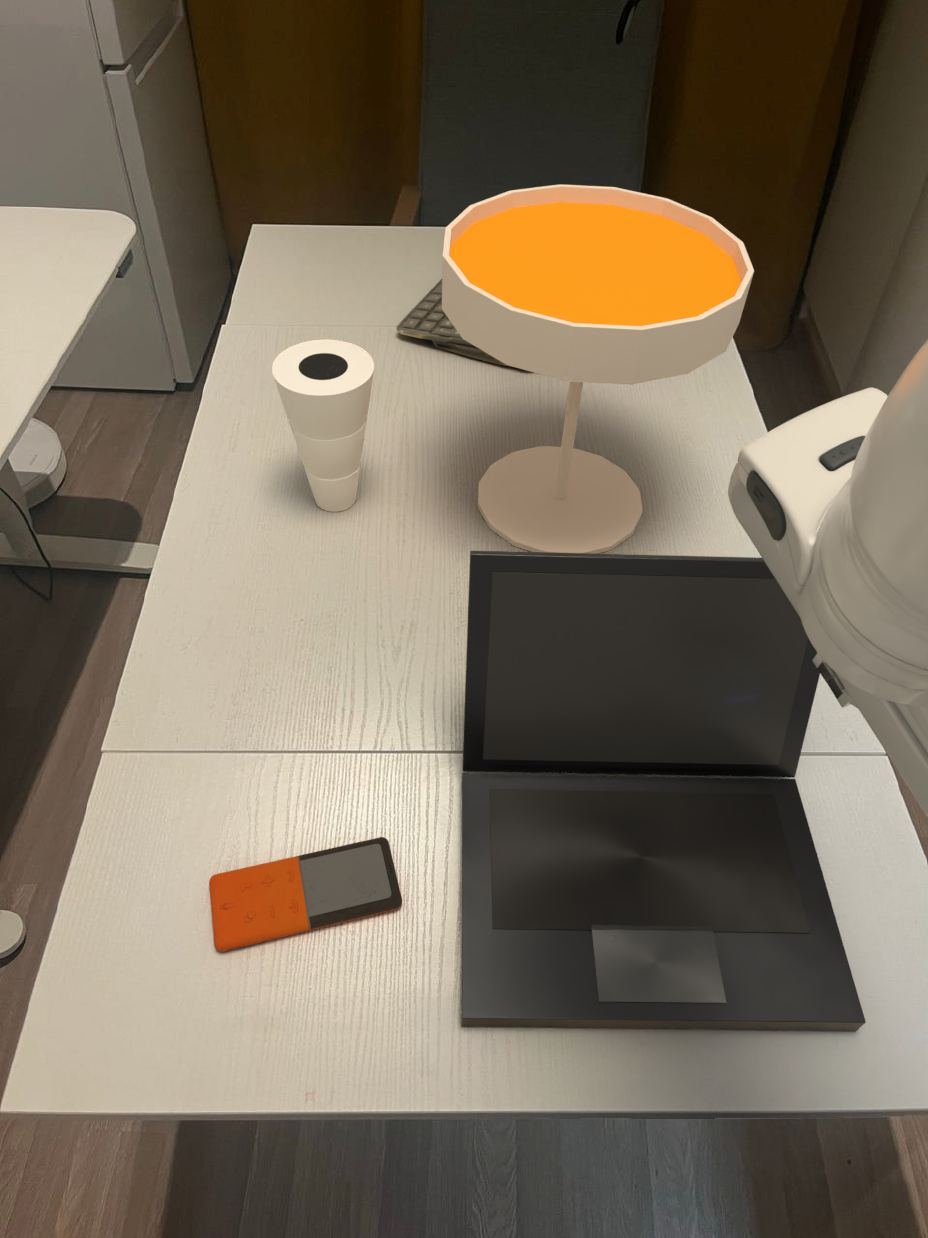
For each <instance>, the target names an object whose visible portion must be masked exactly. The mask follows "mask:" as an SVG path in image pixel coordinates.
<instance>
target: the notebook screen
mask: <svg viewBox="0 0 928 1238" xmlns="http://www.w3.org/2000/svg"><path fill="white" fill-rule="evenodd" d="M468 573H469V574H468V578H469V579H468V599H467V601H468V602H467V624H466V630H467V631H466V652H465V654H466V656H465V676H464V677H465V678H464V681H465V682H464V702H463V703H464V706H463V733H462V734H463V736H462V759H461V760H462V762H461V768H462V769H461V771H462V773H514V774H569V775H624V776H679V777H734V778H789V779H795V778H796V774H797V770H798V766H799V761H800V759H801V753H802V750H803V745H804V742H805V737H806V734H807V729H808V726H809V722H810V717H811V712H812V708H813V705H814V700H815V696H816V692H817V688H818V684H819V680H820V676H821V674H820V672H819V671H818V669H817V667H816V665H815V664H814V662H813V661H812V660H813V658H814V657H815V656H816V654H817V651H816V650H815V648H814V647H813V645H812V644H811V642H810V640H809V638H808V636H807V634H806V632H805V629H804V627H803V624H802V621H801V618H800V616H799V615H798V613H797V612H796V610H795V609H794V607H793V605H792V604H791V602H790V601H789V599H788V598H787V596H786V594H785V593H784V591H783V590H782V588H781V587H780V585H779V583H778V582H777V580H776V579H775V577H774V576H773V574H772V572H771V571H770V569H769V568H768V566H767V565H766V563H765V561H764V560H763V558H762V557H750V556H749V557H747V556H711V555H707V556H705V555H670V554H669V555H668V554H666V555H665V554H664V555H663V554H628V553H627V554H626V553H622V554H621V553H598V554H589V553H549V552H531V551H509V550H507V551H505V550H504V551H502V550H501V551H500V550H470V551H469V572H468Z"/></svg>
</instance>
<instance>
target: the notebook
mask: <svg viewBox="0 0 928 1238" xmlns="http://www.w3.org/2000/svg"><path fill="white" fill-rule="evenodd" d="M460 801H461V809H460V810H461V813H460V814H461V815H460V817H461V818H460V819H461V824H460V825H461V827H460V828H461V830H460V832H461V837H460V838H461V842H460V844H461V847H460V848H461V850H460V852H461V855H460V856H461V859H460V860H461V861H460V862H461V863H460V867H461V868H460V871H461V872H460V873H461V874H460V875H461V878H460V880H461V881H460V885H461V886H460V890H461V891H460V897H461V898H460V906H461V907H460V915H461V916H460V918H461V919H460V929H461V930H460V932H461V933H460V942H461V943H460V953H461V954H460V958H461V959H460V973H461V974H460V1027H462V1028H524V1029H525V1028H526V1029H527V1028H530V1029H531V1028H532V1029H535V1028H536V1029H537V1028H538V1029H539V1028H540V1029H542V1028H543V1029H614V1030H615V1029H617V1030H618V1029H620V1030H621V1029H623V1030H624V1029H626V1030H627V1029H629V1030H630V1029H631V1030H714V1031H716V1030H718V1031H721V1030H722V1031H798V1032H800V1031H802V1032H805V1031H808V1032H857V1031H858V1030H859V1029H860V1028H861V1027H862V1026H863V1025H865V1024H866V1018H865V1014H864V1012H863V1008H862V1005H861V1001H860V998H859V995H858V991H857V987H856V984H855V981H854V976H853V974H852V970H851V966H850V963H849V960H848V959H849V958H848V957H847V953H846V949H845V946H844V942H843V939H842V936H841V932H840V928H839V926H838V921H837V918H836V915H835V912H834V908H833V905H832V900H831V898H830V894H829V890H828V887H827V884H826V881H825V877H824V874H823V869H822V867H821V863H820V860H819V856H818V853H817V849H816V846H815V842H814V838H813V835H812V831H811V828H810V825H809V821H808V818H807V815H806V810H805V807H804V803H803V801H802V796H801V794H800V791H799V788H798V783H797V781H796V778H776V777H721V776H666V775H611V774H556V773H501V772H462V773H461V800H460Z"/></svg>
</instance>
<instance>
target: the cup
mask: <svg viewBox="0 0 928 1238" xmlns="http://www.w3.org/2000/svg"><path fill="white" fill-rule="evenodd" d="M374 372H375V362H374V359H373V357H372V356H371V354H370V353H369V352H368V351H366V350H365V349H364V348H362V347H360V346H359V345H356V344H354V343H351V342H348V341H344V340H338V339H312V340H307V341H304V342H300V343H297V344H294V345H291V346H289V347H288V348H285V349H284V350H282V351H281V352H280V353H279V354H278V355H277V356H276V357H275V358H274V360H273V362H272V364H271V373H272V377H273V379H274V383H275V385H276V388H277V391H278V394H279V397H280V400H281V404H282V406H283V410H284V412H285V415H286V418H287V420H288V423H289V427H290V430H291V433H292V436H293V438H294V441H295V444H296V447H297V450H298V453H299V456H300V459H301V462H302V464H303V468H304V471H305V474H306V478H307V480H308V484H309V486H310V489H311V492H312V496H313V498H314V501H315V504H316V505H317V506H318V508H319V509H321V510H323V511H326V512H329V513H331V512H332V513H338V512H343V511H347V510H349V509H350V508H352V506H353V505H354V504H356V500H357V491H358V485H359V484H358V483H359V479H360V470H361V464H362V462H361V460H362V455H363V448H364V442H365V435H366V428H367V423H368V422H367V421H368V414H369V407H370V402H371V394H372V386H373V380H374Z"/></svg>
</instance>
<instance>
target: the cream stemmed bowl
mask: <svg viewBox="0 0 928 1238" xmlns="http://www.w3.org/2000/svg"><path fill="white" fill-rule="evenodd" d="M444 228H445V230H444V231H445V232H444V238H443V239H444V240H443V248H442V250H443V251H442V273H441V274H442V275H441V279H442V310H443V311H444V313H445V314H446V315H447V317H448V318H449V320H450V321H451V323H452V324H453V326H454V327H455V328H456V330H457V331H458V333H459V334H460V336H461V337H462V339H464V340H466V341H467V342H469V343H471V344H472V345H474V346H476V347H477V348H479V349H481V350H482V351H484V352H486V353H487V354H489V355H491V356H492V357H494V358H496V359H497V360H499V361H501V362H502V363H504V364H506V365H509V366H508V367H511V366H512V368H515V367H516V368H515V369H519V370H524V371H527V372H531V373H534V374H538V375H541V376H545V377H549V378H552V379H556V380H559V381H563V382H569V387H568V394H567V402H566V408H565V415H564V423H563V430H562V437H561V444H560V446H551V445H550V446H549V445H539V446H535V447H530V448H524V449H520V450H515V451H512V452H510V453H509V454H507V455H505V456H503V457H502V458H500V459H498V460H496V461H494V462H493V463H491V464H490V466H489V467H488V468H487V470H486V471H485V472H484V474H483V475H482V477H481V478H480V480H479V481H478V489H477V490H478V493H477V509H478V511H479V512H480V514H481V516H482V518H483V519H484V521H485V523H486V524H487V527H488V528H489V530H491V531H492V532H493V533H495V534H496V535H498V536H499V537H500V538H502V539H504V540H505V541H506V542H507V543H509V544H510V545H511V546H513V547H516V548H519V549H522V550H525V551H527V552H549V553H589V554H603V553H606V552H610V551H612V550H613V549H615V548H616V547H617V546H619V545H620V544H622V543H623V542H625V541H626V540H628V539H629V538H630V537H632V536H633V534H634V533H635V530H636V528H637V526H638V525H639V522H640V520H641V518H642V516H643V505H642V497H641V490H640V489H639V487H638V486H637V484H635V482H634V481H633V479H632V478H631V477H630V476H629V475H628V473H627V472H626V471H625V470H624V469H623V468H621V467H620V466H618V465H616V464H614V463H613V462H611V460H608V459H606V458H605V457H604V456H602V455H598V454H595V453H592V452H588V451H585V450H582V449H578V448H575V447H574V446H575V440H576V439H575V438H576V432H577V425H578V420H579V413H580V406H581V399H582V394H583V387H584V383H588V384H589V383H590V384H591V383H592V384H613V385H630V386H631V385H636V384H637V385H638V384H641V383H646V382H647V383H648V382H652V381H657V380H661V379H663V380H664V379H667V378H673V377H678V376H684V375H688V374H690V373H692V372H693V371H695V370H697V369H699V368H700V367H702V366H704V365H706V364H707V363H709V362H710V361H712V360H714V359H716V358H717V357H719V356H720V355H722V354H724V353H726V352H727V350H728V348H729V346H730V343H731V341H732V339H733V337H734V335H735V333H736V331H737V329H738V327H739V325H740V322H741V318H742V315H743V311H744V308H745V305H746V301H747V298H748V294H749V291H750V287H751V284H752V280H753V277H754V273H755V269H754V267H753V264H752V261H751V258H750V256H749V253H748V251H747V247H746V245H745V243H744V242H743V241H742V240H741V239H740V238H738V237H737V236H736V235H735V234H734V233H733V232H731V231H729V229H727V228H726V227H725V226H723V225H722V224H721V223H720V222H719V221H717V220H716V219H715V218H714V217H712V216H710V215H707V214H705V213H703V212H700V211H698V210H695V209H693V208H691V207H689V206H686V205H684V204H681V203H679V202H677V201H674V200H673V199H670V198H667V197H663V196H658V195H653V194H648V193H644V192H639V191H634V190H629V189H624V188H620V187H616V186H601V185H600V186H599V185H583V184H582V185H581V184H562V183H561V184H552V185H543V186H535V187H527V188H519V189H513V190H508V191H505V192H502V193H499V194H497V195H494V196H492V197H489V198H486V199H484V200H480V201H478V202H475V203H472V204H470V205H468V207H466V208H465V209H464V210H463V211H462V212H461V213H459V215H458V216H457V217H456V218H454V219H453V220H452V221H451V222H450V223H449V224H448V225H447V226H446V227H444Z"/></svg>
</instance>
